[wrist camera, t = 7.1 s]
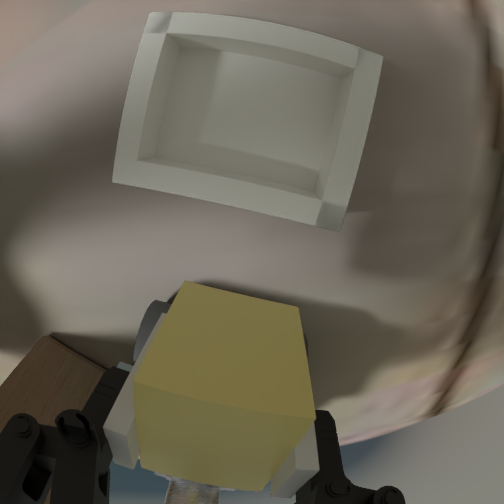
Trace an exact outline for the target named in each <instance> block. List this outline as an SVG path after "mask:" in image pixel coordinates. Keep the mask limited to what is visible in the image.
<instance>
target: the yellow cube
mask: <svg viewBox="0 0 504 504" xmlns="http://www.w3.org/2000/svg"><path fill="white" fill-rule="evenodd" d="M133 393H134V407H135V419H136V428H137V436H138V443H139V450H140V453H139V454H140V462H141V467H142V468H145V469H148V470H151V471H155V472H158V473H162V474H165V475H169V476H173V477H177V478H181V479H185V480H189V481H194V482H198V483H203V484H209V485H214V486H220V487H226V488H233V489H240V490H249V491H258V492H261V490H262V489H263V488H264V487H265V486H266V485H267V483H268V482H269V481H270V480H271V478H272V477H273V475H274V474H275V473H276V471H277V470H278V469H279V467H280V466H281V465H282V463H283V462H284V461H285V459H286V458H287V457H288V455H289V454H290V452H291V451H292V450H293V448H294V447H296V446H297V445H298V444H299V442H300V441H301V440H302V438H303V437H304V435H305V434H306V432H307V431H308V430H309V428H310V427H311V425H312V424H313V422H314V421H315V419H316V414H315V407H314V400H313V393H312V386H311V380H310V373H309V367H308V361H307V355H306V349H305V342H304V337H303V331H302V325H301V319H300V313H299V308H298V307H296V306H291V305H287V304H282V303H277V302H273V301H268V300H264V299H259V298H255V297H250V296H246V295H242V294H237V293H233V292H229V291H225V290H221V289H216V288H212V287H208V286H204V285H200V284H196V283H192V282H188V281H184V283H183V284H182V286H181V288H180V290H179V292H178V294H177V295H176V297H175V299H174V301H173V303H172V305H171V307H170V309H169V310H168V312H167V314H166V316H165V318H164V320H163V322H162V324H161V326H160V328H159V329H158V331H157V333H156V335H155V337H154V339H153V341H152V343H151V345H150V347H149V349H148V351H147V353H146V355H145V357H144V359H143V361H142V363H141V365H140V367H139V369H138V371H137V373H136V375H135V377H134V379H133Z"/></svg>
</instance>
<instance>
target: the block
mask: <svg viewBox="0 0 504 504" xmlns="http://www.w3.org/2000/svg"><path fill="white" fill-rule="evenodd" d="M106 371H107V370H106V369H104V368H102V367H100V366H98V365H97V364H95V363H93V362H91V361H89V360H88V359H86V358H84V357H83V356H81V355H79V354H77V353H76V352H74V351H73V350H71V349H69V348H68V347H66V346H64V345H63V344H61V343H60V342H58V341H57V340H55V339H54V338H52V337H51V336H47V335H46V336H44V337H42V338H41V339H40V341H39V342H38V343H37V344H36V345H35V346H34V347H33V348H32V349H31V351H30V352H29V353H28V354H27V355H26V356H25V357H24V359H23V360H22V361H21V362H20V363H19V364H18V366H17V367H16V368H15V369H14V370H13V372H12V373H11V374H10V375H9V376H8V378H7V379H6V380H5V381H4V382H3V384H2V385H1V386H0V433H1V432H2V430H3V428H4V427H5V425H6V424H7V422H8V421H9V419H10V418H11V417H12V416H13V415H16V414H18V413H26V414H29V415H31V416H33V417H34V418H35V419H36V420H37V422H38V424H43V425H48V426H54V427H57V426H56V424H55V422H54V421H55V419H56V417H57V415H58V414H60V413H61V412H62V411H65V410H68V409H77V410H80V411H82V409H83V408H84V406H85V404H86V402H87V401H88V399H89V397H90V395H91V394H92V392H93V391H94V389H95V387H96V385H97V384H98V382H99V380H100V378H101V377H102V375H103V373H104V372H106ZM51 487H52V486H51ZM50 495H51V488H50V491H49V493H48V495H47V497H46V500H45V502H44V504H50Z"/></svg>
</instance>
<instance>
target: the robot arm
mask: <svg viewBox="0 0 504 504" xmlns="http://www.w3.org/2000/svg"><path fill="white" fill-rule="evenodd" d="M165 316H166V314H165V313H162V314H161V316H160V318H159V320H158V321H157V323H156V325H155V327H154V329H153V331H152V332H151V334H150V336H149V338H148V340H147V342H146V343H145V345H144V347H143V349H142V351H141V353H140V355H139V357H138V358H137V360H136V362H135V364H134V366H133V368H132V370H131V372H129V371H126V370H123V369H120V368H117V367H114V366H113V367H112V368H110V369H109V370H107V371H106V372H104V373H103V375H102V377H101V378H100V380H99V382H98V384H97V385H96V387H95V389H94V391H93V392H92V394H91V395H90V397H89V399H88V401H87V402H86V404H85V406H84V408H83V409H82V411H80V410H77V409H68V410H65V411H62V412H61V413H60V414H58V415H57V417H56V419H55V421H54V422H55V424H56V426H57V427H54V426H48V425H43V424H38V422H37V420H36V419H35V418H34V417H33V416H31V415H29V414H26V413H18V414H16V415H13V416H12V417H11V418H10V419H9V421H8V422H7V424H6V425H5V427H4V428H3V430H2V432H1V433H0V504H44V502H45V500H46V497H47V495H48V493H49V491H50V488H51V495H50V504H109V486H110V469H109V465H110V462H111V460H112V458H113V460H114V463H116V464H119V465H122V466H124V467H127V468H130V469H134V467H135V465H136V462H137V459H138V456H139V453H140V450H139V443H138V436H137V428H136V419H135V407H134V393H133V379H134V377H135V375H136V373H137V371H138V369H139V367H140V365H141V363H142V361H143V359H144V357H145V355H146V353H147V351H148V349H149V347H150V345H151V343H152V341H153V339H154V337H155V335H156V333H157V331H158V329H159V328H160V326H161V324H162V322H163V320H164V318H165ZM315 414H316V419H315V421H314V422H313V424H312V425H311V427H310V428H309V430H308V431H307V432H306V434H305V435H304V437H303V438H302V440H301V441H300V442H299V444H298V445H297V446H296V447H294V448H293V450H292V451H291V452H290V454H289V455H288V457H287V458H286V459H285V461H284V462H283V463H282V465H281V466H280V467H279V469H278V470H277V471H276V473H275V474H274V475H273V477H272V478H271V497H281V498H291V497H292V496H293V495H295V494H296V503H294V504H405V499H404V496H403V494H402V492H401V491H400V490H399V489H397V488H395V487H393V486H384V487H381V488H380V489H378V490H377V491H376V490H371V489H366V488H362V487H358V486H355V485H353V484H352V483H351V481H350V480H349V479H347V478H346V476H345V474H344V471H343V466H342V460H341V454H340V448H339V442H338V436H337V433H336V425H335V420H334V419H333V417H332V416H331V414H330V413H329V411H324V410H315ZM51 486H52V487H51Z"/></svg>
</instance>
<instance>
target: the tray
mask: <svg viewBox="0 0 504 504" xmlns="http://www.w3.org/2000/svg"><path fill="white" fill-rule="evenodd" d="M382 62H383V56H381V55H379V54H376V53H374V52H371V51H368V50H366V49H363V48H361V47H358V46H355V45H352V44H349V43H346V42H344V41H341V40H337V39H334V38H331V37H328V36H324V35H321V34H318V33H314V32H310V31H307V30H303V29H299V28H295V27H290V26H286V25H281V24H276V23H271V22H266V21H261V20H255V19H248V18H242V17H234V16H226V15H216V14H203V13H185V12H150V15H149V18H148V20H147V23H146V26H145V29H144V32H143V35H142V39H141V42H140V45H139V48H138V52H137V55H136V59H135V62H134V66H133V70H132V74H131V78H130V82H129V86H128V90H127V95H126V99H125V104H124V109H123V113H122V119H121V124H120V129H119V135H118V141H117V148H116V154H115V161H114V169H113V177H112V182H113V183H118V184H124V185H129V186H135V187H140V188H146V189H151V190H156V191H161V192H166V193H171V194H176V195H181V196H186V197H191V198H196V199H201V200H205V201H210V202H215V203H219V204H224V205H228V206H233V207H237V208H242V209H246V210H251V211H255V212H259V213H264V214H268V215H272V216H276V217H281V218H285V219H289V220H293V221H297V222H301V223H305V224H309V225H313V226H317V227H321V228H325V229H329V230H333V231H336V232H340V229H341V226H342V222H343V219H344V216H345V213H346V209H347V206H348V203H349V199H350V196H351V193H352V189H353V186H354V182H355V179H356V175H357V171H358V168H359V164H360V160H361V156H362V153H363V149H364V145H365V141H366V137H367V133H368V128H369V124H370V120H371V116H372V111H373V107H374V102H375V98H376V93H377V88H378V83H379V78H380V73H381V67H382Z"/></svg>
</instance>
